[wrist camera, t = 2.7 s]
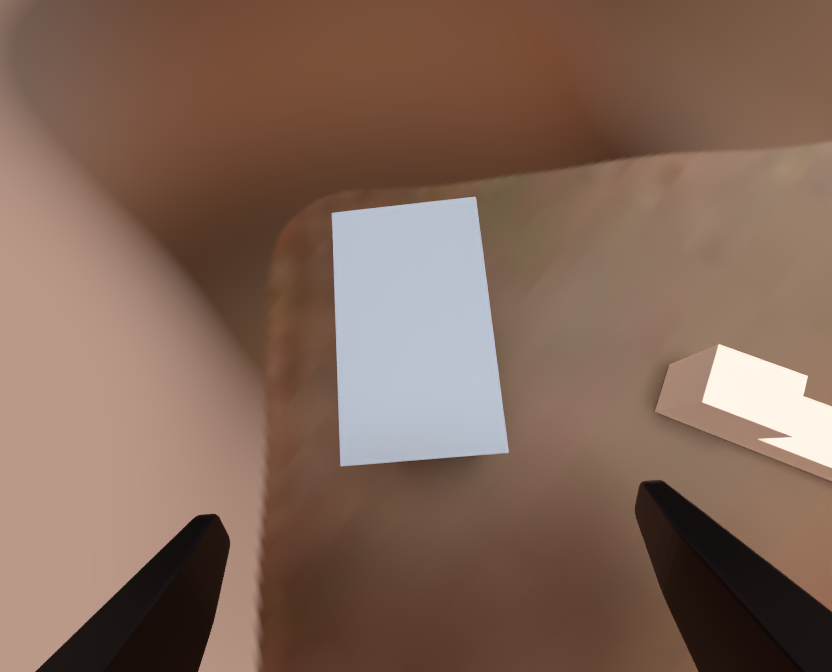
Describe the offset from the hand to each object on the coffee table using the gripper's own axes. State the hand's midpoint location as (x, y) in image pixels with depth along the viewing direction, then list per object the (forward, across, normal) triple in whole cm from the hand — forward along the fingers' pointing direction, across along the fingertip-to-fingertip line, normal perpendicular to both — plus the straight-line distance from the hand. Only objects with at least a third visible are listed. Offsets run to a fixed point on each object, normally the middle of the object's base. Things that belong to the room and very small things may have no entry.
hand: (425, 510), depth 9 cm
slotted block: (+11, 0, +5) cm, 12 cm away
